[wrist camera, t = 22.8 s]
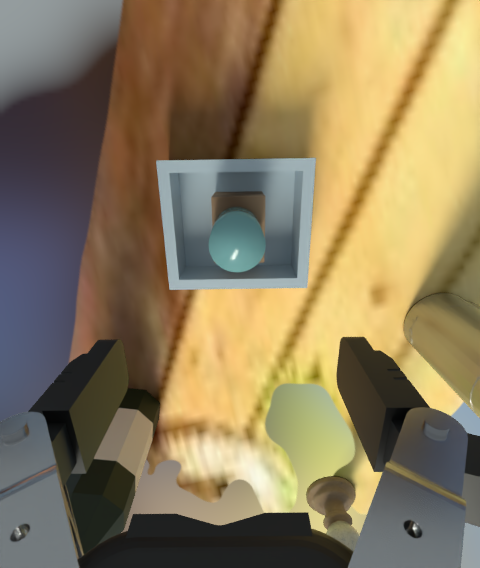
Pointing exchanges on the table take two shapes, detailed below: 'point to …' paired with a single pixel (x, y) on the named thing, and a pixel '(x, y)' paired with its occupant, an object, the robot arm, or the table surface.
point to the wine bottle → (114, 471)
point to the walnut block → (240, 205)
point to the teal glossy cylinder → (237, 240)
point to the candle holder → (334, 507)
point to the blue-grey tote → (198, 220)
